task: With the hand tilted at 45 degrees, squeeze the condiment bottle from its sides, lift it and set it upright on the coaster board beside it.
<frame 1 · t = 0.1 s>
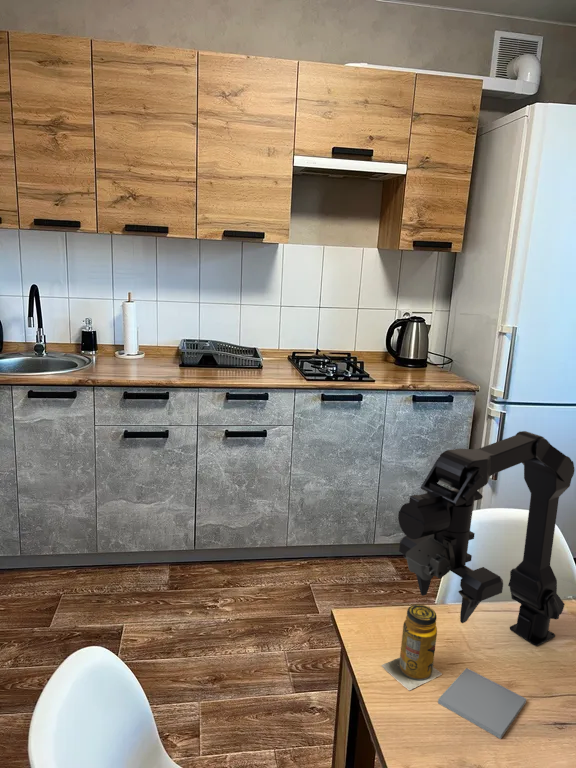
hand: (442, 607, 103), 15 cm above the table, tool pointing down, fingers open, 9 cm apart
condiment: (411, 671, 109), on the table
coaster board: (482, 702, 102), on the table
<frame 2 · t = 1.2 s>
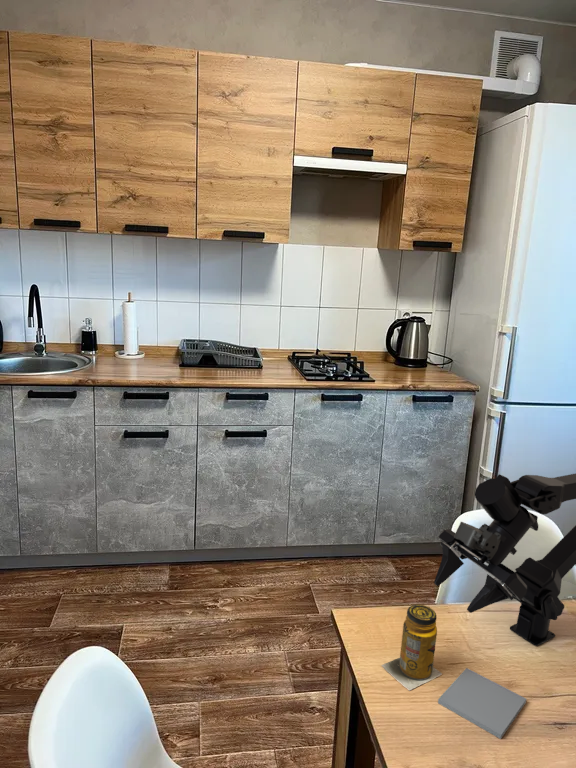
hand: (451, 597, 109), 13 cm above the table, tool tilted 45°, fingers open, 9 cm apart
nothing on the table moved.
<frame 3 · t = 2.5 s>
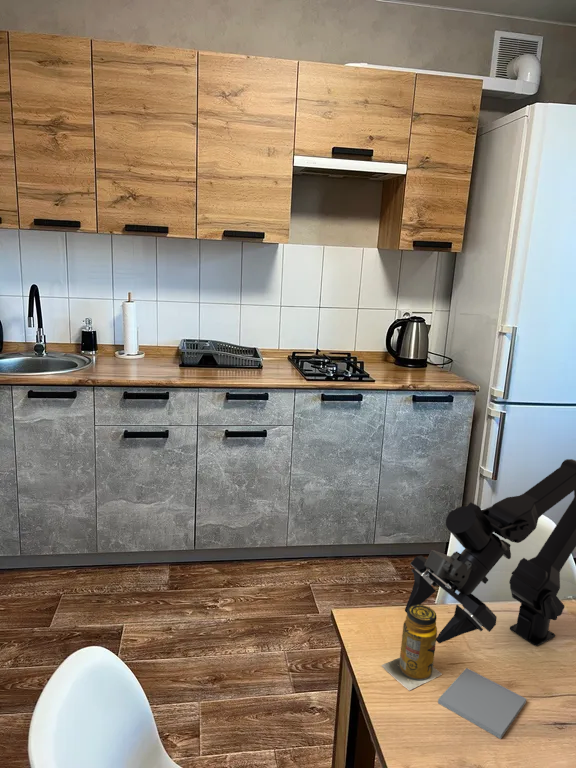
hand: (421, 626, 107), 9 cm above the table, tool tilted 45°, fingers open, 9 cm apart
nothing on the table moved.
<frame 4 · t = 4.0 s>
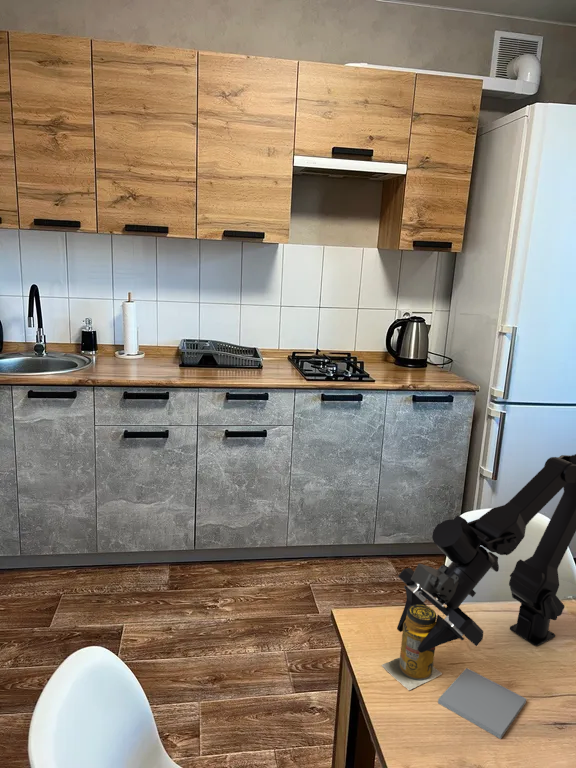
hand: (408, 640, 107), 7 cm above the table, tool tilted 45°, fingers closed on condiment, 6 cm apart
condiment: (411, 671, 109), on the table, touching gripper
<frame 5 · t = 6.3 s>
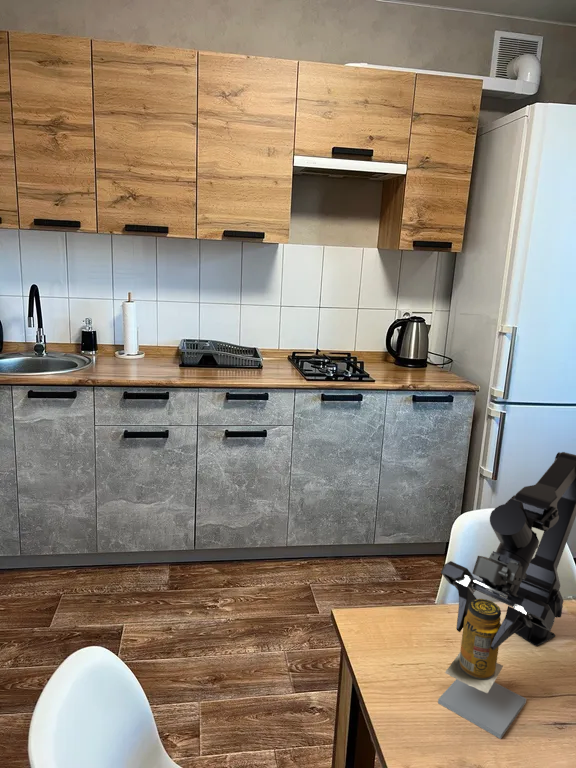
hand: (474, 639, 99), 12 cm above the table, tool tilted 45°, fingers closed on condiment, 6 cm apart
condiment: (474, 671, 101), point 5 cm above the table, touching gripper
when the fingers open (9 cm above the table, at t = 8.2 s): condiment drops 1 cm, resting on coaster board.
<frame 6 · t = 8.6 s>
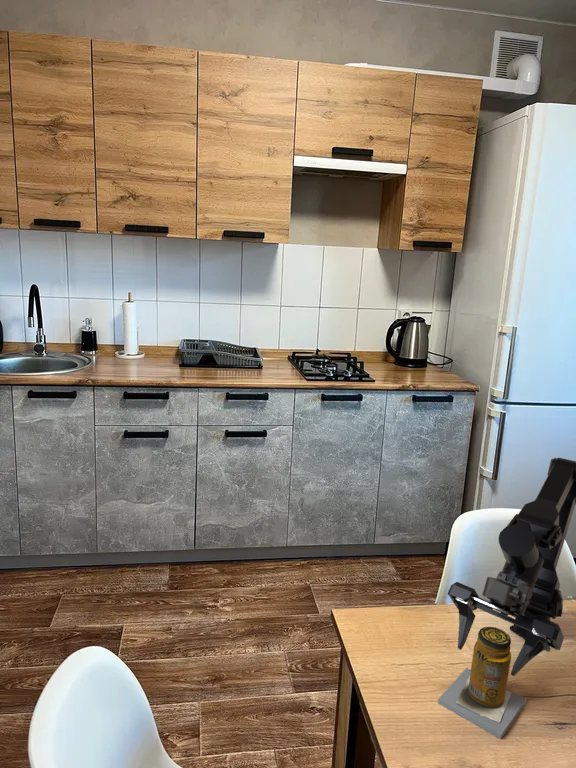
hand: (485, 661, 99), 9 cm above the table, tool tilted 45°, fingers open, 9 cm apart
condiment: (483, 699, 102), point 1 cm above the table, touching coaster board
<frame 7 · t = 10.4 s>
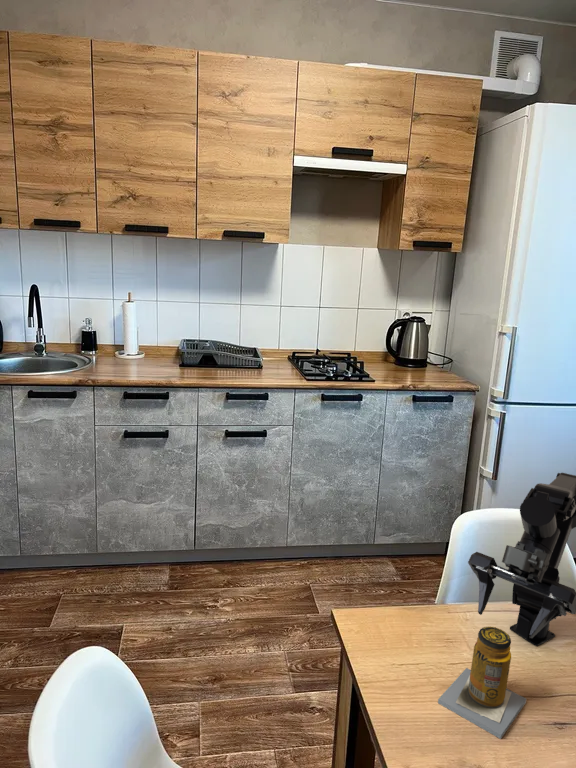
hand: (504, 625, 104), 12 cm above the table, tool tilted 45°, fingers open, 9 cm apart
nothing on the table moved.
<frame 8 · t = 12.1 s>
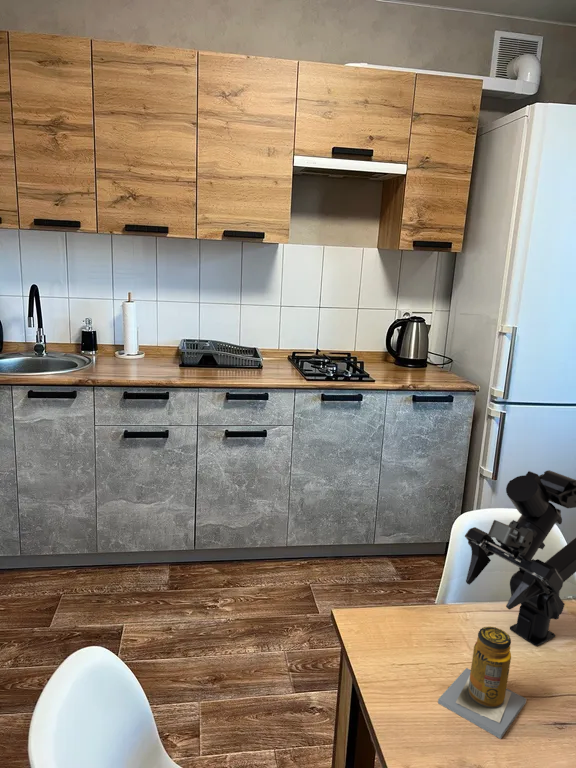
hand: (486, 595, 110), 14 cm above the table, tool tilted 45°, fingers open, 9 cm apart
nothing on the table moved.
at the end: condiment 0.2 cm off-centre on the coaster board, point 0.6 cm above the coaster board's base; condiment tilted 0°; the gripper is holding nothing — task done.
